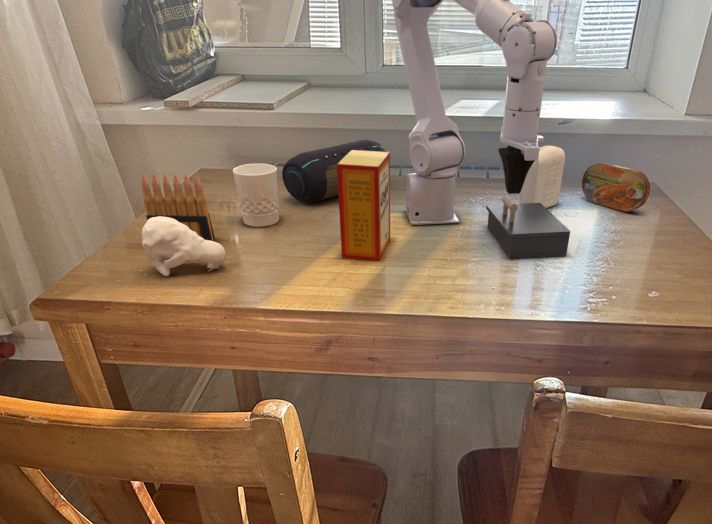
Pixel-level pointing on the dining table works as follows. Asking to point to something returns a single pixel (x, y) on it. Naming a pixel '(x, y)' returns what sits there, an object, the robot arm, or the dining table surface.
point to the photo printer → (544, 178)
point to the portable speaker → (319, 170)
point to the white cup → (257, 193)
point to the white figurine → (177, 245)
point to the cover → (526, 219)
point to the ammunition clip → (179, 204)
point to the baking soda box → (364, 204)
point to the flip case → (528, 243)
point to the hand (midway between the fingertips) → (513, 192)
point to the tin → (615, 186)
